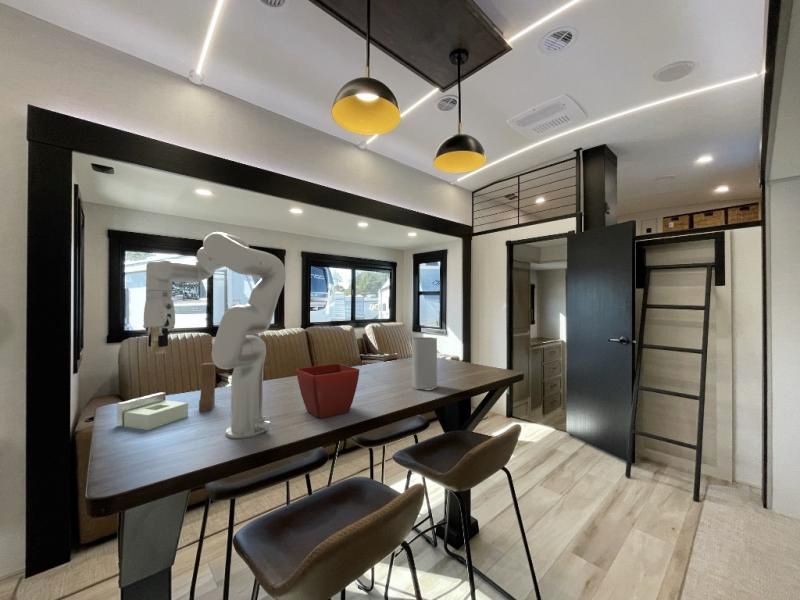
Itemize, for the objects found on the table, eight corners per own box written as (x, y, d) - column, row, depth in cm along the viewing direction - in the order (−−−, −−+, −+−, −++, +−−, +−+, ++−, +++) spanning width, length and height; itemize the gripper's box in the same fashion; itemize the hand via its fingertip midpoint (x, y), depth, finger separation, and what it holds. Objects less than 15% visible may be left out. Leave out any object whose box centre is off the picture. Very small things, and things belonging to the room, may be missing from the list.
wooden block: (211, 411, 129) (212, 365, 129) (198, 412, 127) (199, 366, 127) (214, 405, 137) (215, 362, 138) (202, 406, 135) (202, 363, 136)
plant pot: (295, 410, 130) (295, 368, 130) (338, 401, 141) (338, 362, 141) (313, 423, 114) (313, 375, 115) (360, 413, 126) (360, 369, 126)
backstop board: (165, 413, 126) (165, 392, 126) (122, 427, 112) (122, 403, 112) (160, 413, 127) (160, 392, 127) (117, 426, 113) (117, 403, 113)
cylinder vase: (438, 390, 159) (438, 339, 159) (413, 390, 159) (412, 339, 159) (435, 384, 171) (435, 337, 172) (411, 384, 171) (411, 337, 172)
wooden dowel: (167, 353, 119) (167, 325, 119) (156, 354, 115) (156, 326, 115) (159, 352, 120) (159, 325, 120) (148, 354, 116) (148, 326, 116)
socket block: (188, 416, 122) (188, 402, 122) (147, 430, 108) (148, 415, 109) (165, 413, 126) (165, 400, 126) (124, 426, 112) (124, 411, 112)
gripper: (186, 295, 119) (185, 345, 119) (152, 296, 124) (152, 344, 124) (165, 295, 112) (165, 348, 111) (131, 295, 117) (130, 346, 116)
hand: (158, 345), depth 117 cm, fingers closed on wooden dowel, 4 cm apart
